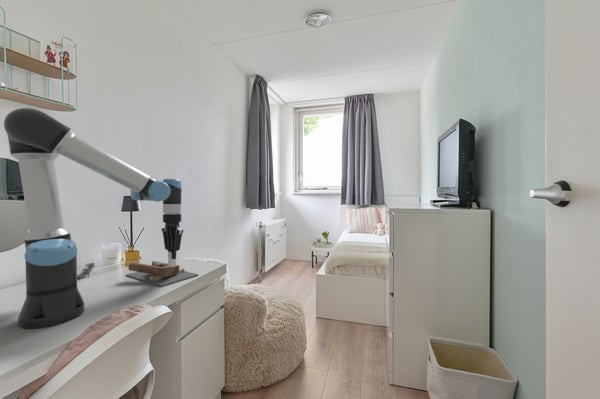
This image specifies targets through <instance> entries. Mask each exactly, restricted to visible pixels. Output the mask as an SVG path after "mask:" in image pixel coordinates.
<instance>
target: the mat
mask: <svg viewBox="0 0 600 399" xmlns="http://www.w3.org/2000/svg"><path fill="white" fill-rule="evenodd" d="M125 276H126V277H129V278H132V279H135V280H138V281H141V282H144V283H147V284H150V285H153V286H157V287H160V288H162V287H165V286H166V287H167V286H169V285H172V284H176V283H179V282H182V281H185V280H189V279H192V278H195V277H198V276H199V274H197V273H193V272H190V271H186V270H184V272H182V273H178V274H175V275H171V276H168V277H164V278H161V279H157V280H153V281H150V277H152V276H156V275H154V274H148V273H142V272H136V271H134V272H131V273H128V274H125Z"/></svg>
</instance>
